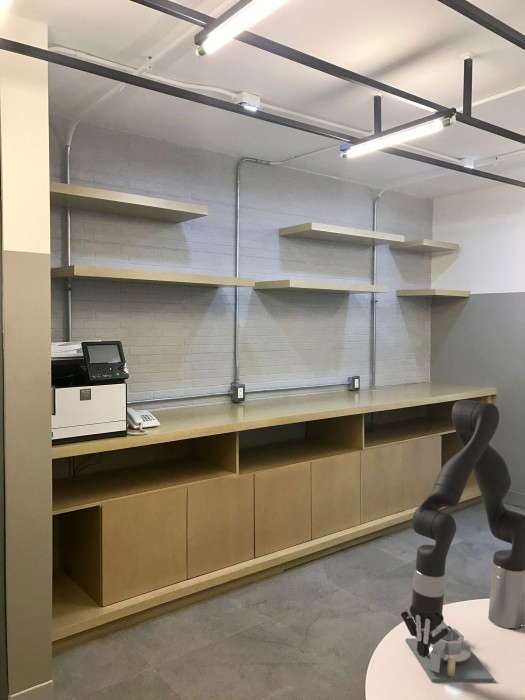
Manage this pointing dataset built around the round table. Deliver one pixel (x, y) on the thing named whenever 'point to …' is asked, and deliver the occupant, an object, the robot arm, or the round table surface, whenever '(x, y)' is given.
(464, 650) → the handled bowl
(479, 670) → the slate board
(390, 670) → the round table surface
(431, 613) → the robot arm
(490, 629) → the round table surface
